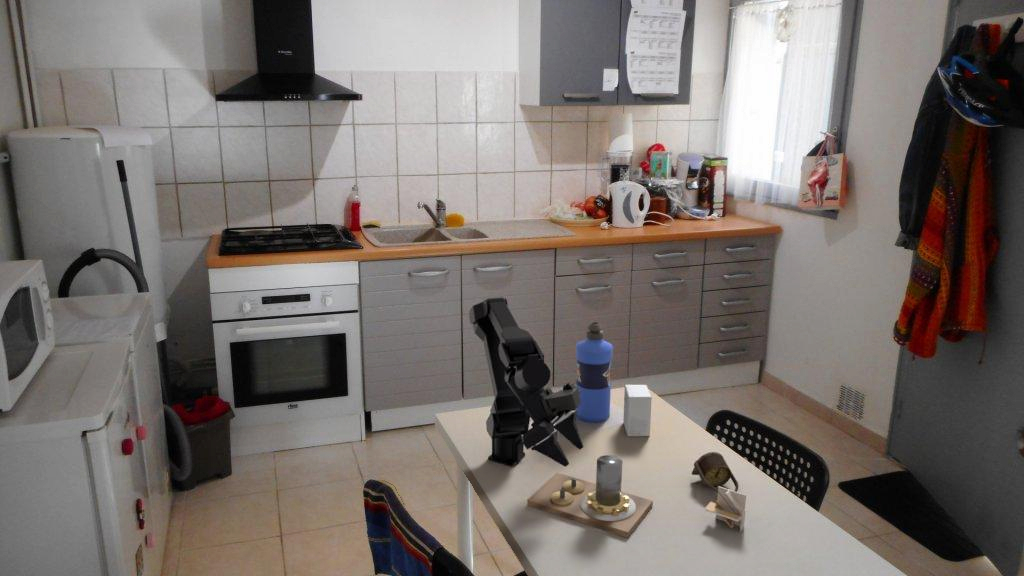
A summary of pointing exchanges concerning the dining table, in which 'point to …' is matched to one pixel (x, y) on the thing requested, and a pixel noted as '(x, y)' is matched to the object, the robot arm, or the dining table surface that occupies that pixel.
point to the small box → (637, 410)
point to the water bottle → (594, 375)
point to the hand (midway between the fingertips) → (574, 456)
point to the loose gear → (608, 488)
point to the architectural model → (729, 507)
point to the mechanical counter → (713, 471)
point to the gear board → (571, 503)
